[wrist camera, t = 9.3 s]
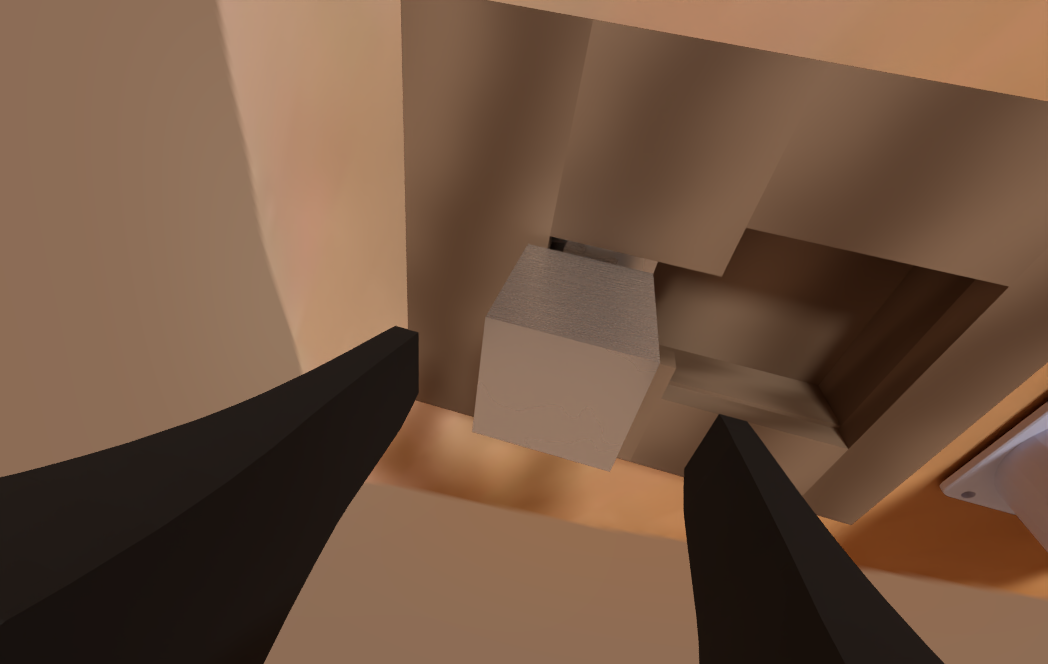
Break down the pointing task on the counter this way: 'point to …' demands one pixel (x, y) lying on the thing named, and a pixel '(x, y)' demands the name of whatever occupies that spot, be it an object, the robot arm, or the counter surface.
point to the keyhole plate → (735, 231)
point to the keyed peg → (569, 352)
